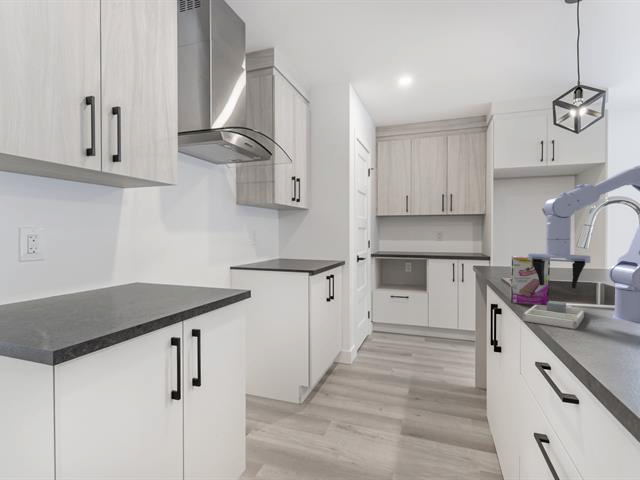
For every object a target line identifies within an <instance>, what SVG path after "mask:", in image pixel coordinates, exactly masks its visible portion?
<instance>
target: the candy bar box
mask: <svg viewBox="0 0 640 480" xmlns="http://www.w3.org/2000/svg"><path fill="white" fill-rule="evenodd" d="M510 261H511V263H510V264H511V265H510V266H511V267H510V271H511V272H510V303H511V304H523V305H533V306H534V305H543V306H547V302H548V301H550V275H551V273H550V272H551V271H550V269H551V268H550V265H551V261H545V264H544V285H543V286H542V285H540V282H539V278H538V275H537V272H536V270H535V268H534V266H533V265H532V261H533V260H528V256H525V255H524V256H522V255H521V256H520V255H519V256H518V255H512V256H511V260H510Z"/></svg>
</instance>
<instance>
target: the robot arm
mask: <svg viewBox="0 0 640 480" xmlns="http://www.w3.org/2000/svg"><path fill="white" fill-rule="evenodd" d="M625 186H631V187H632V188H634V189H635V190H637V191H638V192H640V165H637V166H634V167H632V168H628V169H625V170H622V171H620V172H618V173H616V174H614V175H612V176H610V177H608V178H606V179H604V180H602V181H599V182H598V183H596V184H590V183H586V184H584V183H581V184H578V185H576V188H575V189H573V190H570V191H568V192H561V193H560V194H559V197H555V198H549V199H547V201H545V203H544V205H543V207H542V208H541V210H542V213H543V215H544V216H545V218H546V223H545V224H546V230H545V231H546V232H545V233H546V237H545V238H546V241H545V243H546V245H545V246H546V247H545V249H546V250H545V251H546V253H533V252H532V253H528V254H527V255H528V256H527V257H528V260H533V261H532V265H533V266H534V268H535V270H536V272H537V275H538V278H539V282H540V285H542V286H543V285H544V264H545V261H550V262H567V263H572V283H571V289H577V284H578V281H579V277H580V276H581V273H582V271H583V269H584V267H585V266H586V264H590V263H591V255H583V254H582V255H581V254H571V243H572V242H571V241H572V240H571V238H572V237H571V231H572V230H571V227H572V226H571V225H572V224H571V223H572V222H571V221H572V218H571V217H572V216H573V215H575V213H576V212H577V211H580V210H582V209H585V208H586V207H588V206H591V205H593V204H595V203H597V202H599V200H600V198H601V196H602V195H604V194H607V193H609V192H612V191H614V190H616V189H620V188H621V187H622V188H623V187H625ZM608 275H609V279H610V281H611V282H612V283H613V284H614V285H613V286H614V288H615V289H614V290H615V291H614V312H613V314H612V318H611V319H612V320H619V321H624V322H625V321H627V322H634V323H640V223H639V224H638V227H637V229H636V232H635V234H634V237H633V239H632V241H631V243H630V246H629V248H628V251H627V252H626V253H624V255H621V256H620V257H618V260H617V262H616V263H614V265H613V266H611V268H610V270H609V274H608Z"/></svg>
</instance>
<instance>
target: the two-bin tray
mask: <svg viewBox="0 0 640 480" xmlns="http://www.w3.org/2000/svg"><path fill="white" fill-rule="evenodd" d="M584 318H585V311H584V310H582V309H576V308H575V309H574V308H567V307H566V314H565V313H558V312H550V311H547V306H546V305H533V306H532V307H530V308H529V309H528V310H526V311H524V312H523V313H522V322H528V323H533V324H534V323H535V324H542V325H546V326H547V325H548V326H552V327H553V326H554V327H561V328H567V329H573V330H577V329H578V327H580V324H581V323H582V321H583V319H584Z"/></svg>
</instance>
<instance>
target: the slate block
mask: <svg viewBox="0 0 640 480" xmlns="http://www.w3.org/2000/svg"><path fill="white" fill-rule="evenodd" d="M566 308H567V302H566V301H554V300H549V301H548V302H547V311H550V312H558V313H565V314H566Z"/></svg>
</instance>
